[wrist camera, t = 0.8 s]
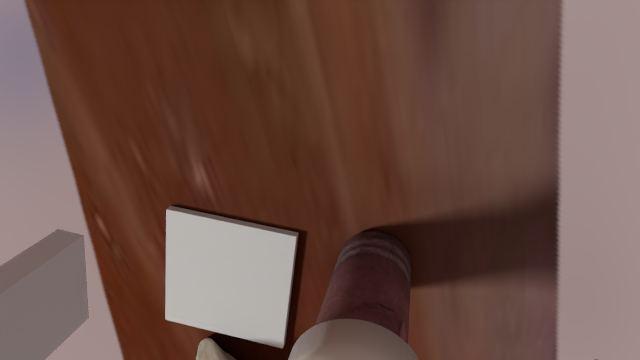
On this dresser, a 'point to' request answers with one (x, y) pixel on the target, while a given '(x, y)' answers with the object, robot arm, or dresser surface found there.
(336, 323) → the cloche
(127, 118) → the dresser surface
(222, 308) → the mat
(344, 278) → the can
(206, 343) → the stone
